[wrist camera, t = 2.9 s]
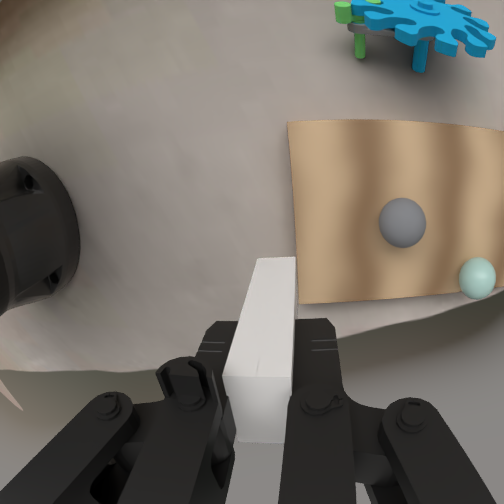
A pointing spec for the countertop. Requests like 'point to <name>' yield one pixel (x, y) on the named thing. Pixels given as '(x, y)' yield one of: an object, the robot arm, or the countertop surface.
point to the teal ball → (477, 278)
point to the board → (383, 191)
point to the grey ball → (402, 222)
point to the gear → (416, 26)
